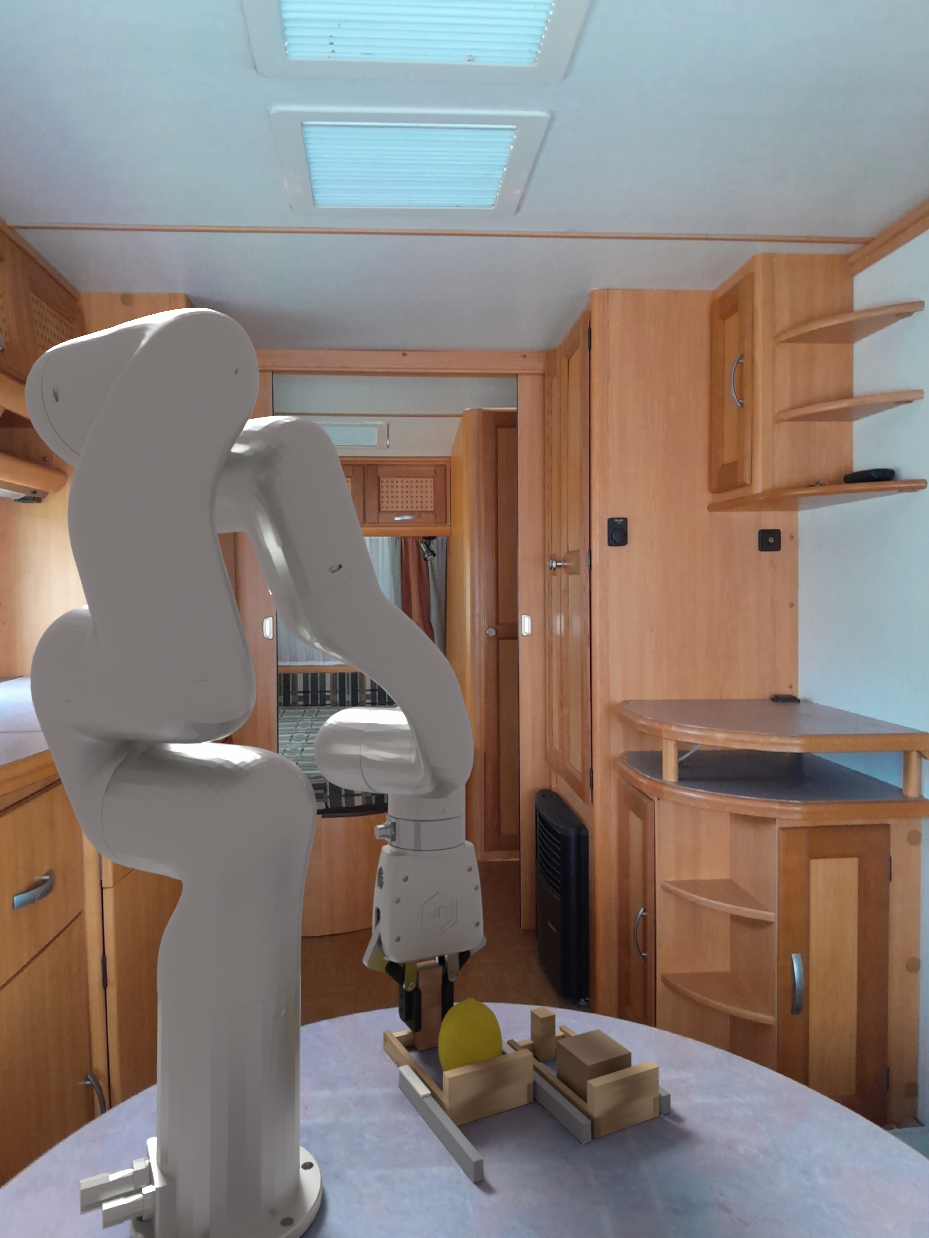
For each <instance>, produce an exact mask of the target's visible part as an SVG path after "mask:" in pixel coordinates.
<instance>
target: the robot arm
mask: <svg viewBox="0 0 929 1238" xmlns="http://www.w3.org/2000/svg"><path fill="white" fill-rule="evenodd" d="M25 381H26V383H25V386H24V402H25V408H26V410H27V416H28V417H29V420H30V422H31V425H32V426H33V428H34V429H35V431H36V433H37V434H38V436H39V437H40V439H41V440H42V441H43V442H44V443H45V444H46V446H48V448H50V450H51V451H52V452H54V454H55V455H57V456H58V457H59V458H61V460H63V461H64V462H66V463H67V464H68V465H70V466H71V467H73V468H74V470H73V475H72V477H71V482H70V488H69V494H68V499H67V500H68V502H67V528H68V529H67V530H68V539H69V544H70V547H71V551H72V556H73V560H74V563H75V566H76V569H77V573H78V576H79V579H80V582H81V588H82V589H83V593H84V598H85V600H86V605H81V606H78V607H75V608H73V609H71V610H68V611H67V612H65V613H63V614H62V615H60V616H59V617H58V618H56V619H55V620H54V621H52V623H51V624H49V626H48V627H47V628H46V630H45V631H44V632H43V634H41V637H40V639H38V642H37V645H36V647H35V649H34V653H33V655H32V661H31V665H30V695H31V700H32V705H33V708H34V709H33V710H34V712H35V715H36V716H35V717H36V718H37V721H38V724H39V727H40V729H41V732H42V735H43V737H44V740H45V742H46V745H47V747H48V750H49V752H50V755H51V757H52V760H53V762H54V765H55V768H56V770H57V773H58V775H59V777H60V781H61V782H62V786H63V789H64V790H65V793H66V795H67V797H68V800H69V802H70V803H69V804H70V806H71V807H72V811H73V812H74V815H75V818H76V820H77V821H78V824H79V826H80V828H81V830H82V832H83V834H84V836H85V837H86V839H87V840H88V842H89V843H90V844H91V846H93V848H94V849H95V851H97V853H99V854H101V856H103V857H104V858H105V859H107V860H109V861H110V862H113V863H114V864H117V865H121V866H124V867H126V868H131V869H134V870H139V871H141V872H142V871H143V872H147V873H152V874H155V875H156V874H157V875H161V876H166V877H169V878H172V879H175V880H179V881H181V883H182V890H181V894H180V897H179V899H178V902H177V904H176V907H175V908H174V911H173V913H172V915H171V916H170V918H169V920H168V923H167V924H166V925H165V928H164V931H163V934H162V937H161V939H160V940H161V941H160V945H159V947H158V956H157V967H156V968H157V969H156V992H157V1025H156V1026H157V1028H156V1031H157V1032H156V1034H157V1035H156V1036H157V1037H156V1038H157V1039H156V1040H157V1041H156V1042H157V1043H156V1044H157V1046H156V1047H157V1048H156V1049H157V1050H156V1056H157V1057H156V1136H154V1137H150V1138H148V1139H146V1156H143V1157H141V1158H140V1157H139V1158H137V1159H134V1160H131V1166H129V1167H126V1168H123V1169H119V1170H116V1171H113V1172H109V1171H107V1172H103V1173H100V1174H97V1175H93V1176H90V1177H85V1178H83V1179H80V1180H79V1214H80V1216H82V1215H85V1214H89V1213H92V1212H95V1211H99V1210H101V1224H102V1225H101V1227H102V1230H105V1229H109V1228H112V1227H115V1226H118V1225H121V1224H125V1222H127V1221H129V1234H130V1238H300V1237H301V1236H303V1235H304V1234H305V1233H306V1231H307V1230H308V1229H309V1228H310V1225H311V1224H312V1223H313V1221H315V1219H316V1216H317V1214H318V1211H319V1210H320V1208H321V1203H322V1196H323V1175H322V1171H321V1167H320V1165H319V1162H317V1159H316V1158H315V1156H314V1155H313V1154H311V1152H309V1150H308V1149H306V1148H305V1147H304V1146H301V1025H302V1024H301V1023H302V1022H301V1019H302V1018H301V1017H302V1015H301V1012H302V1011H301V1010H302V1009H301V1007H302V1006H301V1005H302V1004H301V1002H302V1001H301V999H302V998H301V997H302V996H301V995H302V994H301V993H302V992H301V991H302V989H301V986H302V983H301V982H302V981H301V980H302V975H301V974H302V973H301V972H302V971H301V967H302V966H301V961H302V959H301V957H302V956H301V955H302V954H301V952H302V950H301V949H302V947H301V946H302V918H303V917H302V916H303V903H304V895H305V888H306V887H305V885H306V878H307V873H308V867H309V862H310V858H311V852H312V848H313V843H314V838H315V832H316V826H317V813H318V811H317V810H318V809H317V808H318V807H317V799H316V794H315V790H314V788H313V785H312V783H311V781H310V779H309V777H308V776H307V775H306V773H305V772H304V771H303V770H302V769H301V767H299V766H298V764H296V763H295V762H294V761H292V760H290V758H287V757H286V756H284V755H282V754H280V753H277V752H274V751H271V750H269V749H266V748H260V747H256V746H251V745H249V746H248V745H241V744H231V743H230V744H229V743H220V742H215V741H218V740H222V739H224V738H226V737H229V736H230V735H232V734H233V733H235V732H236V731H238V730H239V729H240V728H242V727H243V726H244V725H245V723H246V722H247V721H248V720H249V718H250V716H251V714H252V712H253V710H254V707H255V704H256V698H257V690H258V689H257V679H256V678H257V677H256V670H255V665H254V661H253V656H252V652H251V648H250V645H249V641H248V638H247V634H246V631H245V627H244V625H243V622H242V617H241V613H240V611H239V607H238V604H237V601H236V598H235V597H236V596H235V594H234V593H235V592H234V591H233V587H232V583H231V579H230V575H229V572H228V570H227V567H226V563H225V559H224V556H223V551H222V547H221V542H220V537H219V535H218V534H225V533H239V532H245V533H246V534H247V537H248V540H249V542H250V545H251V546H252V549H253V552H254V554H255V557H256V560H257V562H258V565H259V567H260V568H259V569H260V570H261V572H262V575H263V578H264V580H265V583H266V586H267V588H268V592H269V594H270V598H271V599H272V602H273V604H274V607H275V610H276V613H277V615H278V619H279V621H280V623H281V625H282V627H283V629H285V630H286V631H287V633H289V634H290V635H291V636H293V637H294V638H296V639H297V640H299V641H300V642H302V643H303V644H306V645H307V646H310V647H311V648H313V649H315V650H317V651H318V652H320V653H322V654H324V655H326V656H327V657H330V658H332V659H335V660H336V661H338V662H339V661H340V663H343V664H344V665H347V666H349V667H351V668H353V669H355V670H356V671H358V672H360V673H362V674H363V675H364V676H365V677H367V678H369V679H370V680H372V681H373V682H374V683H376V684H377V685H378V686H379V687H381V688H382V689H383V691H385V692H386V694H388V696H390V698H391V699H392V700H393V701H394V702H395V704H396V705H397V706H396V707H375V706H374V707H371V706H370V707H369V706H355V707H354V706H353V707H348V708H344V709H342V710H339V711H337V712H336V713H334V714H333V715H331V716H329V718H327V719H326V720H325V721H324V723H323V724H322V725H321V726H320V728H319V730H318V732H317V734H316V737H315V741H314V745H313V747H314V748H313V756H314V762H315V764H316V767H317V769H318V771H319V772H320V774H321V775H322V776H323V777H324V779H326V780H327V781H328V782H330V783H331V784H333V785H334V786H338V787H339V788H342V789H346V790H350V791H356V792H363V793H365V792H366V793H372V794H381V795H382V794H386V795H387V797H388V798H387V803H388V804H387V808H388V809H387V814H385V822H382V824H376V825H375V826H374V829H373V833H374V837H375V839H376V840H385V841H386V842H387V844H386V845H382V847H381V850H380V851H381V852H380V856H379V860H378V865H377V870H376V871H377V872H376V877H375V884H374V893H373V903H372V904H373V905H372V907H373V908H372V920H371V921H372V923H371V924H372V925H371V926H372V927H371V929H372V930H371V931H372V935H371V938H370V940H369V943H368V945H367V948H366V950H365V952H364V954H363V957H362V963H363V964H364V965H365V967H367V968H368V969H369V970H372V971H376V972H378V973H382V974H386V975H388V976H390V978H392V979H393V981H395V982H396V983H397V984H398V1017H399V1019H400V1021H401V1022H403V1024H405V1025H406V1027H408V1029H411V1031H412V1032H413V1033H417V1032H420V1030H421V1018H422V993H421V990H420V989H419V988H418V987H417V981H416V978H417V963H418V961H422V960H427V959H433V958H435V961H436V962H437V963H438V964H439V965H441V966H442V984H441V1023H442V1022H443V1019H444V1017H445V1015H446V1014H447V1012H448V1011H449V1010H450V1009H451V1008H452V1007H453V1006H454V1005H455V982H456V981H457V980H459V977H460V971H461V970H462V968H463V967H464V965H465V964H466V963H467V962H468V960H469V959H470V957H471V955H474V954H476V953H477V952H479V951H480V950H481V949H482V948H484V947H485V946H486V944H487V937H486V935H485V933H484V920H483V919H484V917H483V916H484V915H483V913H484V912H483V901H482V887H481V879H480V872H479V867H478V861H477V856H476V852H475V851H476V850H475V847H474V843H472V842H471V841H469V840H466V784H467V782H468V780H469V778H470V776H471V773H472V769H473V766H474V757H475V755H474V754H475V753H474V752H475V747H474V736H473V731H472V726H471V721H470V717H469V714H468V710H467V707H466V703H465V699H464V697H463V692H462V688H461V686H460V683H459V680H458V678H457V675H456V673H455V671H454V669H453V667H452V665H451V663H450V661H448V659H447V657H446V656H445V655H444V653H443V652H442V651H441V650H440V648H439V646H437V645H436V644H435V642H433V640H431V638H430V637H429V636H428V635H427V634H426V632H425V631H423V629H422V628H421V627H420V626H419V625H418V624H417V623H416V622H414V621H413V620H412V618H411V617H409V616H408V615H407V614H406V613H405V612H404V611H403V610H402V609H401V608H399V607H398V606H397V605H396V604H394V603H393V602H392V601H391V600H390V599H389V598H388V597H387V596H386V595H385V594H384V592H383V591H382V589H381V587H380V584H379V581H378V578H377V575H376V572H375V569H374V565H373V561H372V558H371V556H370V552H369V550H368V546H367V543H366V540H365V536H364V534H363V530H362V526H361V524H360V521H359V518H358V517H359V516H358V515H357V511H356V508H355V507H356V506H355V505H354V501H353V498H352V495H351V492H350V488H349V485H348V483H347V480H346V476H345V472H344V469H343V467H342V463H341V459H340V457H339V454H338V452H337V448H336V447H335V444H334V443H333V440H332V439H331V437H330V435H329V434H328V433H327V432H326V430H325V429H324V428H322V426H320V425H319V424H317V423H316V422H314V421H312V420H310V419H307V418H304V417H299V416H292V415H291V416H290V415H287V416H284V415H283V416H282V415H278V416H277V415H276V416H275V415H273V416H266V417H258V418H254V419H253V418H252V419H251V417H252V414H253V412H254V410H255V407H256V403H257V400H258V397H259V396H258V395H259V390H260V369H259V362H258V356H257V352H256V349H255V347H254V344H253V342H252V340H251V337H250V336H249V334H248V333H247V331H246V330H245V329H244V327H242V325H241V324H240V323H239V322H238V321H236V320H235V319H234V318H233V317H231V316H229V315H228V314H226V313H223V312H220V311H216V310H214V309H213V310H212V309H209V308H198V307H197V308H181V309H174V310H169V311H164V312H159V313H156V314H152V315H151V314H150V315H148V316H144V317H140V318H137V319H134V320H131V321H127V322H124V323H122V324H119V325H116V326H114V327H111V328H107V329H103V330H101V331H100V330H99V331H97V332H93V333H91V334H87V335H83V336H80V337H77V338H73V339H70V340H67V341H64V342H62V343H60V344H58V345H55V346H52V348H50V349H48V350H47V351H45V352H44V353H43V354H42V355H40V356H39V358H37V360H36V361H35V362H34V363H33V364H32V367H31V368H30V371H29V372H28V375H27V377H26V380H25Z"/></svg>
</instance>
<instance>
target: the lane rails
mask: <svg viewBox="0 0 929 1238" xmlns="http://www.w3.org/2000/svg"><path fill="white" fill-rule="evenodd" d="M513 1052H516V1051H515V1050H514V1049H512V1048H511V1047H510V1046H509V1045H508V1044H507V1041H505V1040H504V1039H502V1054H503V1055H505V1054H509V1053H513ZM398 1087H399V1089H400V1091H402V1093H404V1095H405V1096H406V1098H407V1099H408V1100H409V1102H410V1103H411V1104H412V1106H413V1107H414V1109H416V1111H417V1112H418V1113H419V1114H420V1116H421V1117H422V1119H423V1120H424V1121H425V1122H426V1124H427V1125H428V1126H429V1128H431V1130H432V1131H433V1133H434V1134H435V1135H436V1137H437V1138H438V1139H439V1140H440V1141H441V1143H442V1145H444V1147H445V1148H446V1150H448V1152H449V1154H450V1155H452V1157H453V1159H455V1161H456V1162H457V1163H458V1166H460V1168H461V1169H462V1170H463V1171H464V1173H465V1174H466V1176H467V1177H468V1178H469V1180H471V1182H472V1183H473V1184H475V1183H477V1182H480V1181H483V1180H484V1157H482V1155H481V1154H480V1153H479V1152H478V1150H477V1149H476V1148H475V1147H474V1146H473V1144H472V1143H471V1141H470V1140H469V1139H468V1138H467V1137H466V1136H465V1134H463V1133H462V1131H461V1130H460V1128H459V1126H456V1125H455V1124H454V1123H453V1121H452V1120H451V1119H450V1118H449V1117H448V1115H447V1114H446V1113H445V1112H444V1111H443V1109H442V1108H441V1107H440V1106H439V1105H438V1103H437V1102H436V1101H435V1100H434V1098H433V1097H432V1096H431V1092H430V1091H429V1090H428V1088H427V1087H426V1086H425V1085H424V1084H423V1083H422V1081H421V1080H420V1079H419V1078H418V1077H417V1075H416V1074H415V1073H414V1072H413V1071H412V1069H411V1068H410V1067H409V1066H408V1065H405V1066H401V1067H398ZM533 1099H535V1100H536V1101H537V1102H538V1103H539V1104H540V1105H541V1106H542V1107H544V1109H546V1110H547V1111H548V1112H549V1114H550V1115H552V1116H553V1117H554V1118H555V1119H556V1120H557V1121H558V1122H559V1123H560V1124H561V1125H562V1126H564V1128H566V1130H567V1131H568V1132H569V1133H570V1134H572V1135H573V1137H575V1139H577V1140H578V1141H579V1142H580V1143H581V1144H586V1143H588V1142H589V1143H590V1142H591V1141H592V1136H591V1121H590V1120H589V1119H588V1118H587V1117H586V1116H584V1115H583V1114H582V1113H581V1112H580V1111H579V1110H578V1109H577V1108H576V1107H574V1106H573V1105H572V1104H571V1103H570V1102H569V1101H568V1100H567V1099H566V1098H564V1097H563V1096H562V1095H561V1094H560V1093H559V1092H558V1091H557V1090H555V1089H554V1088H553V1087H552V1086H551V1085H550V1084H549V1083H548V1082H547V1081H545V1080H544V1079H543V1078H542V1077H541V1076H540V1075H539V1074H538V1073H537V1072H535V1071H534V1070H533Z"/></svg>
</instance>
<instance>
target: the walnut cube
mask: <svg viewBox="0 0 929 1238" xmlns="http://www.w3.org/2000/svg"><path fill="white" fill-rule="evenodd" d="M631 1065H632V1051H631V1050H629V1049H627V1047H625V1046H624V1045H622V1044H621V1043H619V1042H617V1041H616V1039H613V1038H612V1037H611V1036H610V1035H608V1034H606V1033H605V1032H604V1031H603V1030H601V1029H599V1028H597V1029H593V1030H590V1031H586V1032H583V1033H580V1034H577V1035H575V1036H572V1037H568V1038H564V1039H561V1040H557V1049H556V1077H557V1078H558V1079H559V1080H560V1081H561V1082H562V1083H563V1084H565V1085H566V1086H567V1087H568V1088H569V1089H570V1090H572V1091H573V1092H574V1093H575V1094H576V1095H577V1096H578V1097H580V1098H581V1099H582V1100H583V1101H584V1102H585V1103H586V1104H587V1081H588V1080H591V1079H595V1078H598V1077H601V1076H604V1075H607V1074H610V1073H614V1072H617V1071H620V1070H623V1069H626V1068H629V1067H631Z"/></svg>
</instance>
